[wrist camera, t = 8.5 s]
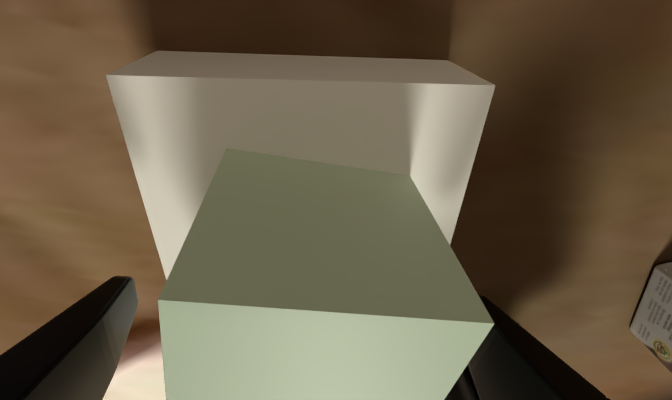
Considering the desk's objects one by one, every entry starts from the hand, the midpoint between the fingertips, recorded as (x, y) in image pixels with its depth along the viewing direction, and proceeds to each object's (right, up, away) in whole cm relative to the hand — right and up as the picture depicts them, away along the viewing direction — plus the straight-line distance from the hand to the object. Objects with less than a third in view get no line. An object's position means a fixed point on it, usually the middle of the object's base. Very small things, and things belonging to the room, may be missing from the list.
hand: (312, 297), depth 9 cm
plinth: (-1, +4, +6) cm, 7 cm away
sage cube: (0, +1, +2) cm, 3 cm away
